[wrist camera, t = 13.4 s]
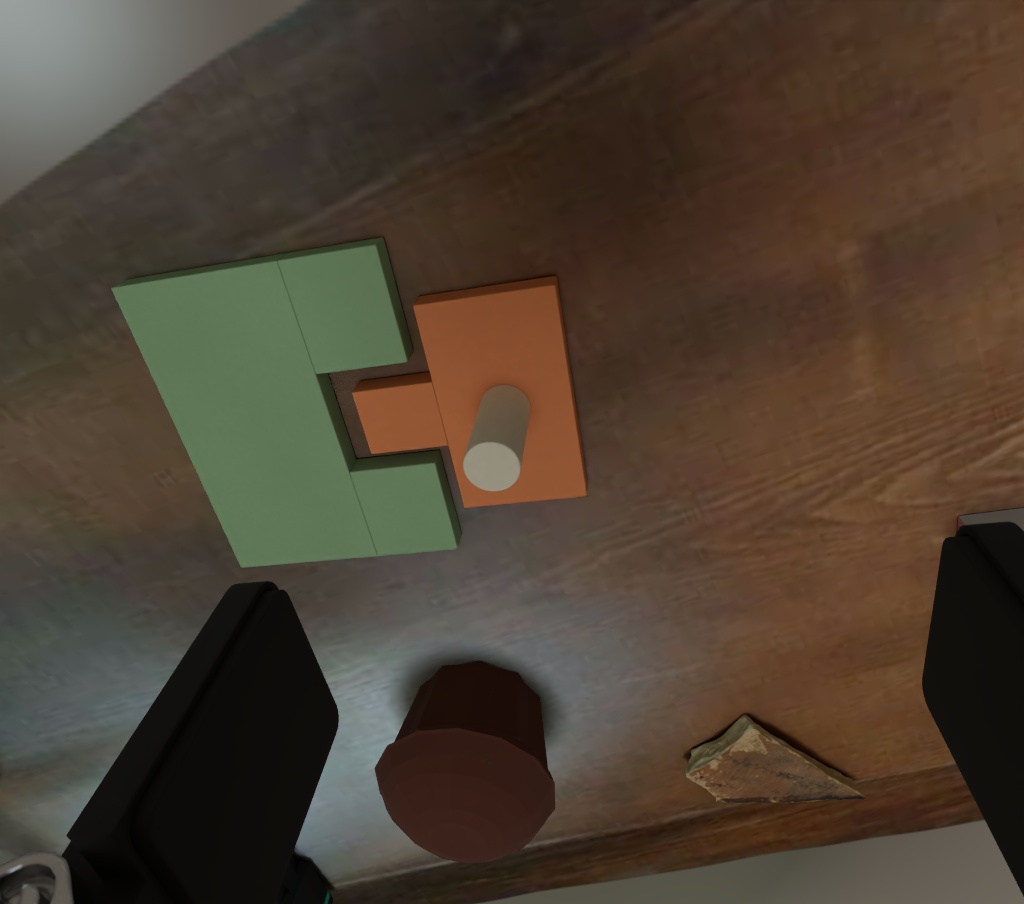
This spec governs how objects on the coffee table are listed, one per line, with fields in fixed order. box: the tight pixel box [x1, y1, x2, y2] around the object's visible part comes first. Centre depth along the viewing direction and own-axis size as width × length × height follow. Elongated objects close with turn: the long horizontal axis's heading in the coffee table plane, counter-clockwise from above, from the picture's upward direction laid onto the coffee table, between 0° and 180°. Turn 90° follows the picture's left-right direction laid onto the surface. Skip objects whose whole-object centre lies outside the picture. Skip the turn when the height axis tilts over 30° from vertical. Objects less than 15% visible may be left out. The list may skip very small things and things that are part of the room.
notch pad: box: [111, 237, 461, 568], centre depth 39 cm, size 18×14×2 cm
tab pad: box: [352, 276, 587, 508], centre depth 35 cm, size 12×11×8 cm
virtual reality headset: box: [274, 854, 333, 904], centre depth 58 cm, size 11×17×10 cm, turn 18°
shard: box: [685, 715, 865, 803], centre depth 50 cm, size 11×8×2 cm
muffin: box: [375, 661, 555, 863], centre depth 46 cm, size 12×11×10 cm
